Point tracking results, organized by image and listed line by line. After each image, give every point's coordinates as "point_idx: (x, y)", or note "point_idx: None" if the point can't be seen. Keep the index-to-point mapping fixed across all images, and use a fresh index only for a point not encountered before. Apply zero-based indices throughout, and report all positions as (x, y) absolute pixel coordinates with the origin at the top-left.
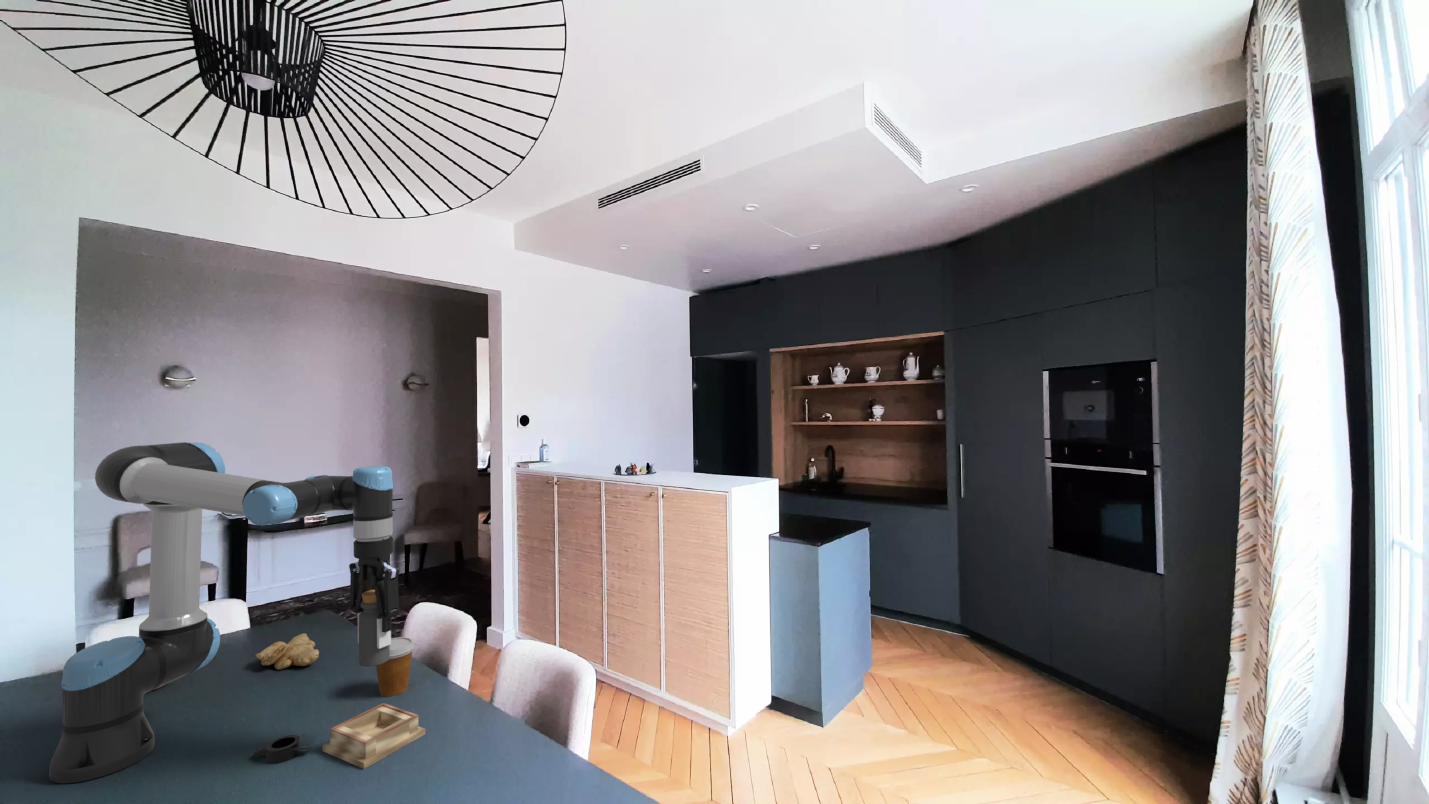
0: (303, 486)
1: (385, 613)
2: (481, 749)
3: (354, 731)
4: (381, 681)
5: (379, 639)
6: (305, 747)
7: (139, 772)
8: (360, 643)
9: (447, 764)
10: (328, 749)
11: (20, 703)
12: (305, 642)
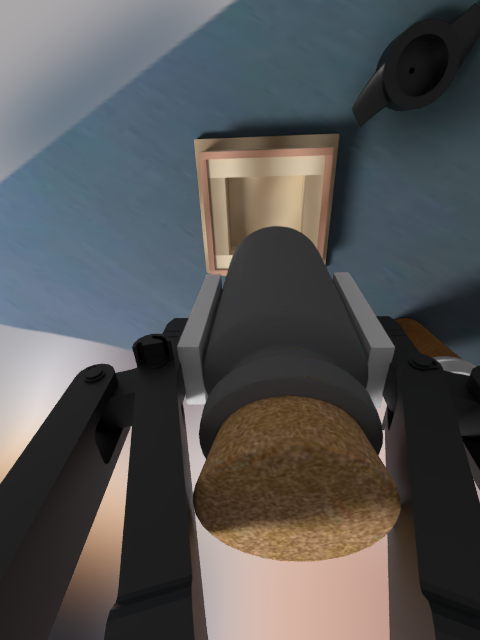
0: None
1: (111, 374)
2: (89, 279)
3: (273, 173)
4: (415, 331)
5: (201, 291)
6: (365, 102)
7: None
8: (286, 250)
9: (90, 226)
10: (316, 134)
11: None
12: None
